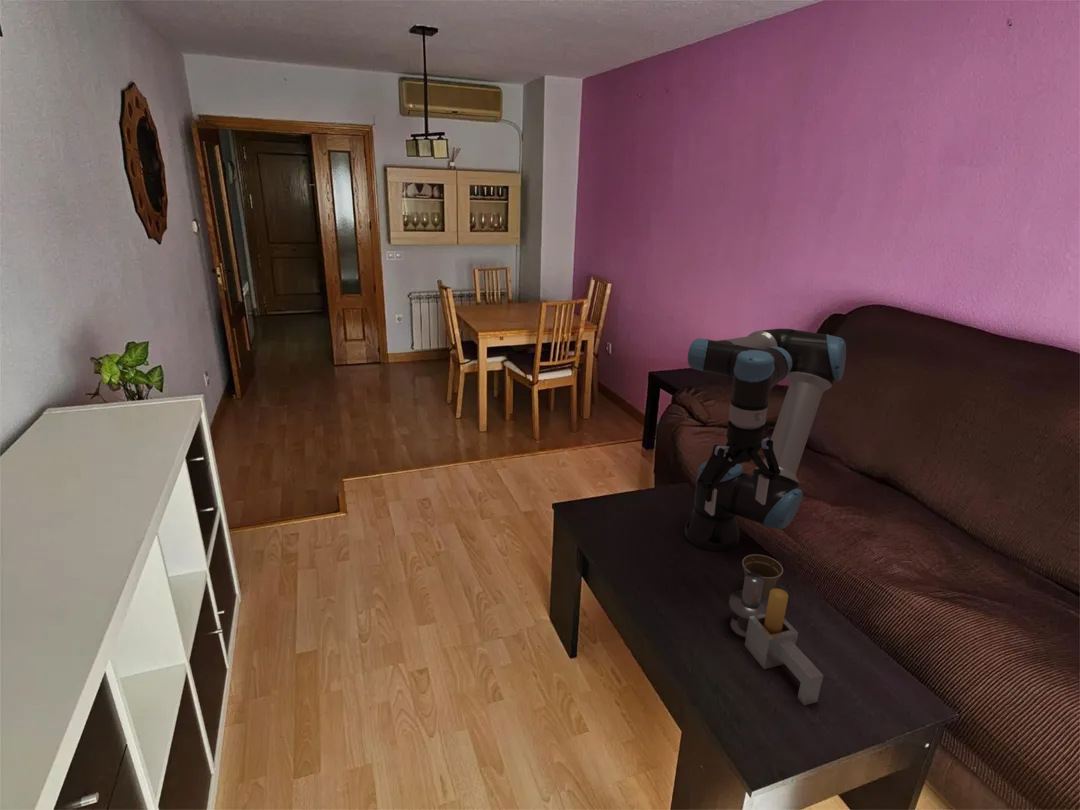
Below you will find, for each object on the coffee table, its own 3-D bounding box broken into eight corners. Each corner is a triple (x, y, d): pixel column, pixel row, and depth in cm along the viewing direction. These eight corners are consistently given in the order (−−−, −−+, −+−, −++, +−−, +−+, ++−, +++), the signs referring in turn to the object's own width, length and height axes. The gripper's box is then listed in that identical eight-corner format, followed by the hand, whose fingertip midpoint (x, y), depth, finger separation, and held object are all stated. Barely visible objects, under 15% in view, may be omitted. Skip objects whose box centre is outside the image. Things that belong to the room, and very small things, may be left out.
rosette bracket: (829, 698, 117) (843, 643, 111) (791, 709, 114) (803, 653, 109) (751, 611, 140) (759, 562, 135) (718, 618, 138) (725, 569, 132)
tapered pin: (756, 644, 127) (766, 592, 122) (767, 638, 129) (777, 586, 124) (770, 655, 124) (780, 602, 119) (781, 648, 126) (792, 595, 121)
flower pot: (744, 577, 152) (748, 549, 148) (782, 591, 147) (787, 562, 143) (732, 597, 144) (737, 568, 141) (771, 612, 139) (777, 583, 136)
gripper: (705, 438, 119) (696, 526, 127) (806, 421, 126) (791, 505, 134) (686, 423, 126) (678, 508, 134) (783, 408, 133) (770, 489, 141)
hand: (735, 507), depth 134 cm, fingers open, 13 cm apart
